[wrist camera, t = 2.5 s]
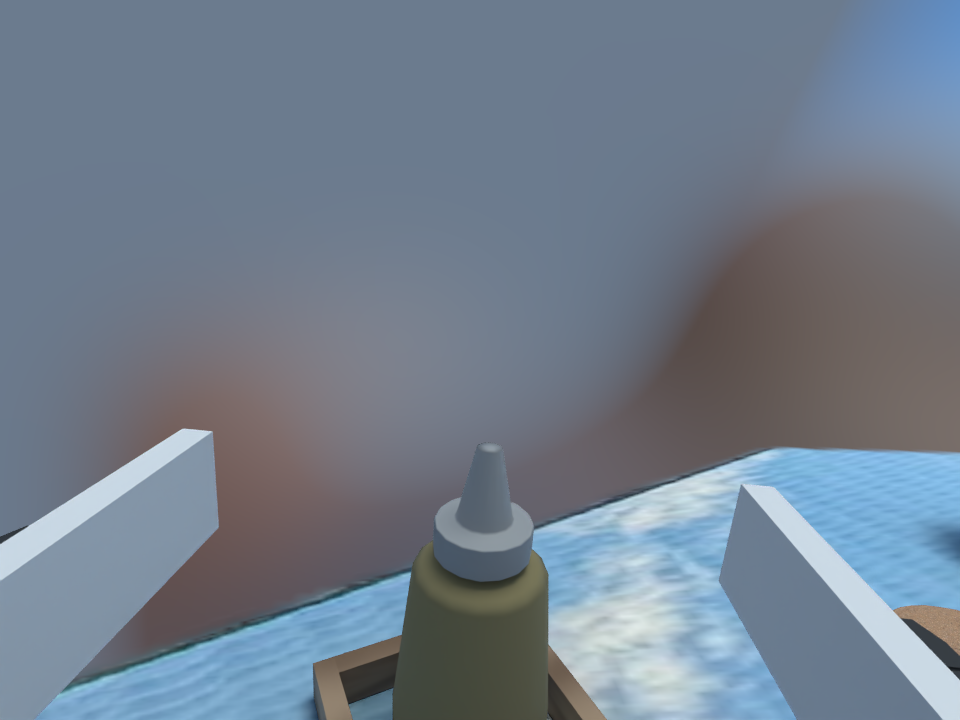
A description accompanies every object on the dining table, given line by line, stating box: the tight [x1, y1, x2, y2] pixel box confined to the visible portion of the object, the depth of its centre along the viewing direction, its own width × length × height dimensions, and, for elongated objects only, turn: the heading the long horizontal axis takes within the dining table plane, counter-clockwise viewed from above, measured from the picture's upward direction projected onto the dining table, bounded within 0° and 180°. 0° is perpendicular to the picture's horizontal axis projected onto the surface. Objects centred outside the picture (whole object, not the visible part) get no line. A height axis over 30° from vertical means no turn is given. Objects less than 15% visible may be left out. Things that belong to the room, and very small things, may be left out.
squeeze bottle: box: [393, 443, 548, 720], centre depth 26 cm, size 8×8×18 cm
